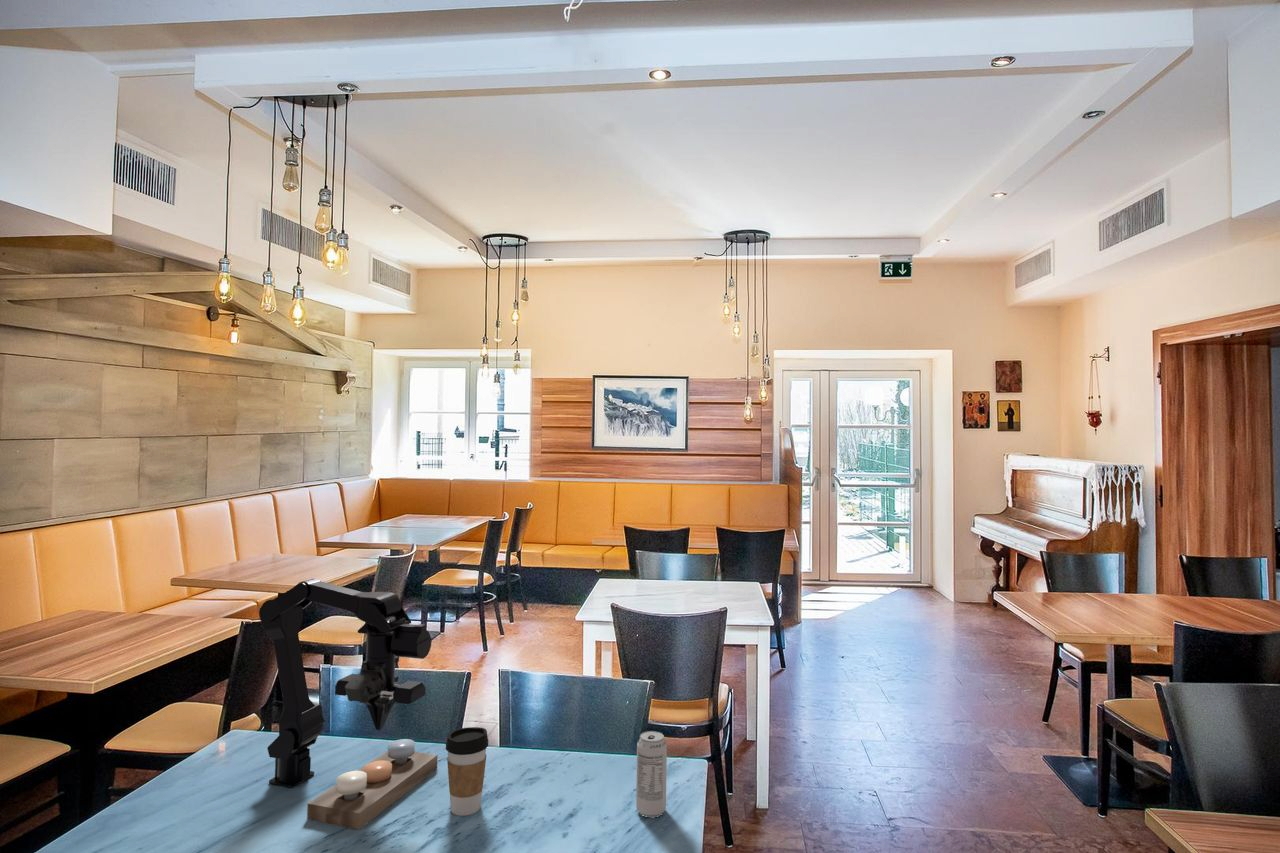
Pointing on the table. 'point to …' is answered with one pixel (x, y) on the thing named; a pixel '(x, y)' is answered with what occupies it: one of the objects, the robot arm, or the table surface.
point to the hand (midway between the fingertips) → (379, 729)
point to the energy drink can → (651, 774)
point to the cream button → (351, 784)
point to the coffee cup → (466, 768)
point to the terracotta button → (378, 771)
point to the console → (372, 793)
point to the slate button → (401, 750)
